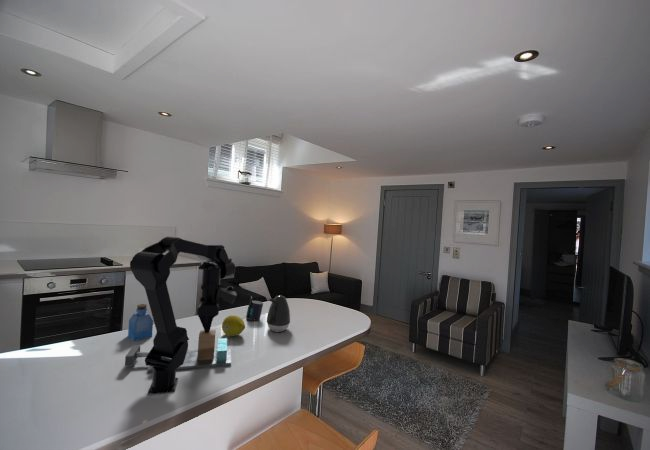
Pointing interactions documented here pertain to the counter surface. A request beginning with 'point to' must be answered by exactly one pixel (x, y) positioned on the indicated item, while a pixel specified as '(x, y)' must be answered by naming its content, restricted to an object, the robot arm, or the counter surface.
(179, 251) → the robot arm
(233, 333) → the lemon
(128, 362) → the vise jaw
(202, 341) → the walnut block
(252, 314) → the speaker
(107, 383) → the counter surface
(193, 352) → the vise
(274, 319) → the pump dispenser
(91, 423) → the counter surface
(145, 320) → the perfume bottle
